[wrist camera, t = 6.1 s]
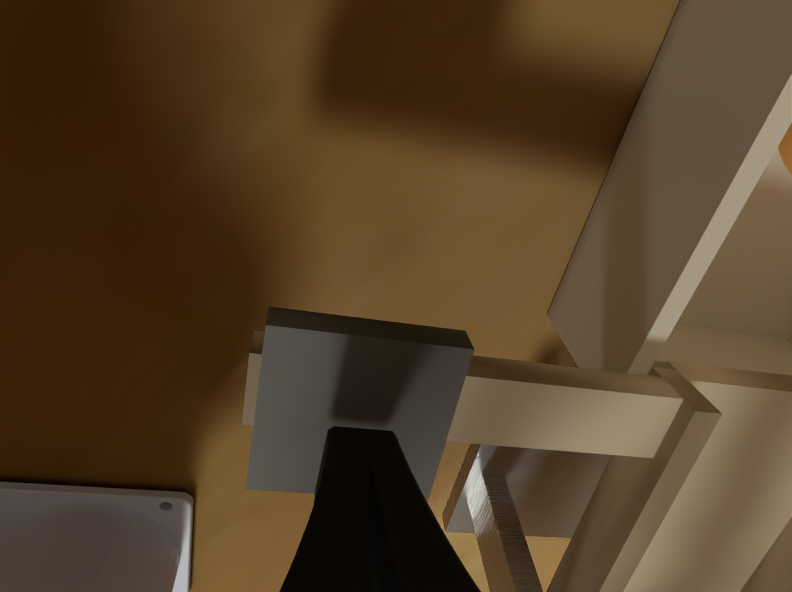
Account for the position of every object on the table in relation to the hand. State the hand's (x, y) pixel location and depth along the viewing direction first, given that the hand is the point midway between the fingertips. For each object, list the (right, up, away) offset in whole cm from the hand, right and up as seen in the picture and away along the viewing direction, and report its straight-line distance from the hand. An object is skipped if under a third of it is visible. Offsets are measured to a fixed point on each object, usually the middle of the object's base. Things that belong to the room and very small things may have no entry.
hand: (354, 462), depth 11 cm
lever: (+5, -6, +8) cm, 11 cm away
